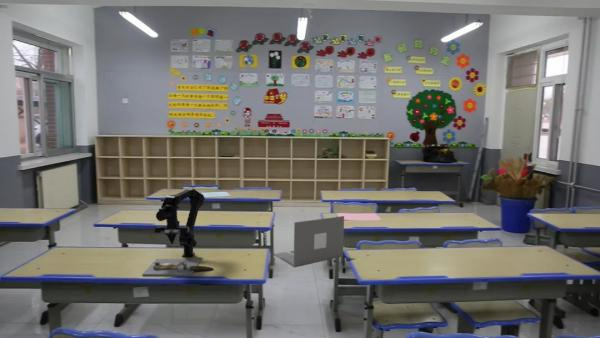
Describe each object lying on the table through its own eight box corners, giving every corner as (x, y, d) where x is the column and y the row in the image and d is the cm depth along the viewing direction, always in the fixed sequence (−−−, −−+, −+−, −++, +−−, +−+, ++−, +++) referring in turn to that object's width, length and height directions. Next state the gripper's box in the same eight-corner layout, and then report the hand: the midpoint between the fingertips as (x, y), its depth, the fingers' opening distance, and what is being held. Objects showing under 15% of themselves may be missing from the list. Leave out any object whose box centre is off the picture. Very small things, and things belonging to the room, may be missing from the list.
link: (152, 269, 229) (152, 263, 229) (154, 266, 233) (154, 261, 233) (185, 268, 231) (185, 263, 231) (187, 266, 235) (186, 261, 234)
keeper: (180, 267, 233) (180, 261, 233) (185, 267, 233) (185, 261, 233) (177, 271, 227) (177, 265, 227) (183, 271, 227) (183, 265, 227)
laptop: (319, 248, 278) (320, 208, 275) (343, 259, 256) (344, 216, 253) (273, 256, 260) (273, 213, 257) (294, 269, 238) (295, 222, 235)
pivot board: (156, 260, 247) (156, 258, 247) (200, 260, 248) (200, 259, 248) (142, 275, 222) (142, 274, 222) (191, 276, 223) (191, 274, 223)
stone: (189, 271, 228) (189, 267, 228) (189, 268, 233) (189, 264, 232) (213, 271, 231) (213, 268, 231) (213, 268, 236) (213, 264, 235)
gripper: (191, 214, 247) (191, 240, 249) (159, 214, 246) (160, 239, 248) (187, 218, 236) (187, 245, 238) (153, 218, 235) (154, 245, 237)
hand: (172, 243), depth 240 cm, fingers closed
